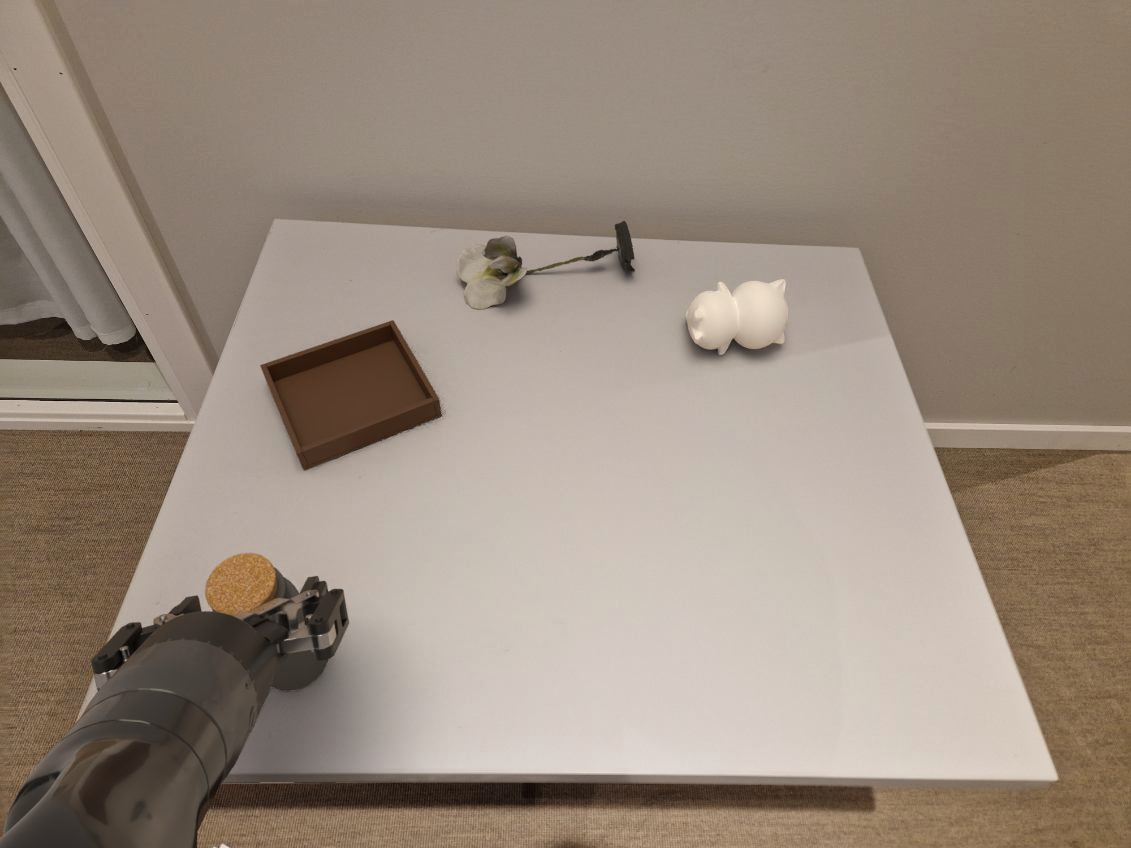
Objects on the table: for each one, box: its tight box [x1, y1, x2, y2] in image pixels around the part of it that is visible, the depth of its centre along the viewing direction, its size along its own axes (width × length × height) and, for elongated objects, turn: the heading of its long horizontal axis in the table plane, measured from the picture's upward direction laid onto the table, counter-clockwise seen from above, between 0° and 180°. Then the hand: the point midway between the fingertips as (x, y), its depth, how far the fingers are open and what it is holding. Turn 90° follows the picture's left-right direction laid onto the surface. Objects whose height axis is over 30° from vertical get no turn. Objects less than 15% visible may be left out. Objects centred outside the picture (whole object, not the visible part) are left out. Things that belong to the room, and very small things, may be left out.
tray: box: [259, 319, 443, 471], centre depth 79 cm, size 15×13×3 cm
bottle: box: [204, 552, 329, 692], centre depth 57 cm, size 6×6×15 cm
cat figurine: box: [684, 278, 789, 356], centre depth 86 cm, size 9×11×12 cm
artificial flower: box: [455, 220, 636, 310], centre depth 90 cm, size 9×22×10 cm, turn 102°
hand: (256, 598), depth 54 cm, fingers open, 8 cm apart
